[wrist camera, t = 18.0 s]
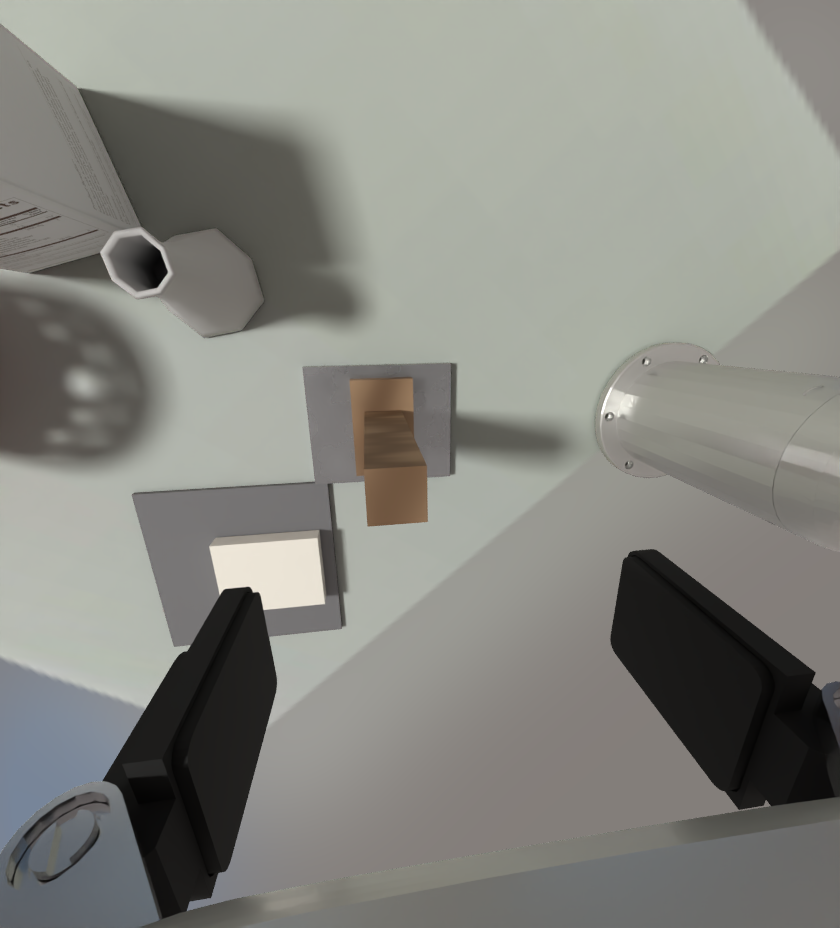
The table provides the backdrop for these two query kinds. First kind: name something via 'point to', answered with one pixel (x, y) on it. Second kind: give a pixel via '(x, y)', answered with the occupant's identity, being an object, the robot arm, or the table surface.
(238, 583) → the tile
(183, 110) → the table surface
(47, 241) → the supplement box
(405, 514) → the wooden post stand
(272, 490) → the mat
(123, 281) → the flask
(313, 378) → the plate
